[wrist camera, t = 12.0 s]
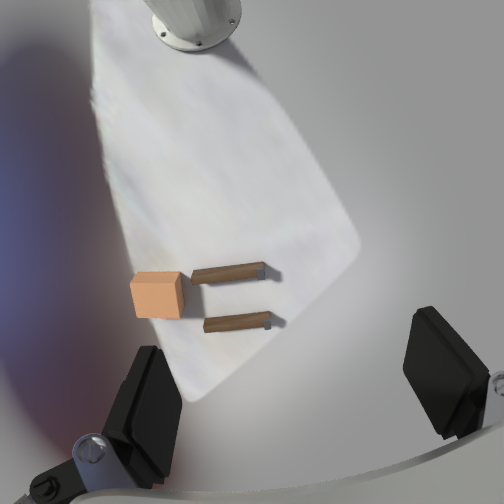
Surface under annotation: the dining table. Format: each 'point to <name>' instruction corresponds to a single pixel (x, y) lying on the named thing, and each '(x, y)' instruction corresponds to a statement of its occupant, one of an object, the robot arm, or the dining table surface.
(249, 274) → the brown wooden rail pair
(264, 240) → the dining table surface
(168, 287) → the light orange block
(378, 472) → the robot arm
